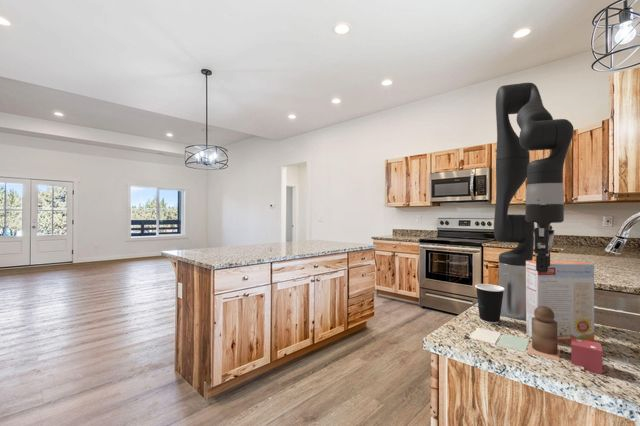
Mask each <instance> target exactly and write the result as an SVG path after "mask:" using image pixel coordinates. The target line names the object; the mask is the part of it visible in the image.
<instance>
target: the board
mask: <svg viewBox="0 0 640 426" xmlns="http://www.w3.org/2000/svg"><path fill="white" fill-rule="evenodd" d="M501 334H502V335H501ZM468 338H470V339H473V340H478V341H480V342H485V343H488V344H491V345H492V344H493V345H495V344H496V345H497V346H501V347H504V348H509V349H512V350H516V351H520V352H523V353H525V352H526V351H527V353H528V354H532V355H536V356H540V357H543V358H548V359H551V360H555V361H560V356H561V347H562V346H558V353H556V354H546V353H542V352H539V351H536V350H535V349H533V348H532V339H531V340H530V339H528V338H525V337H521V336H515V335H513V334H512V335H511V334H508V333H507V334H506V333H502V332H499V331H495V330H489V329H486V328H482V327H476V328H475V330H474V331H473V332H472V334H471V335H469V337H468ZM529 341H530V342H529ZM527 347H528V349H527Z"/></svg>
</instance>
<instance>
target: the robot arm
mask: <svg viewBox="0 0 640 426" xmlns="http://www.w3.org/2000/svg"><path fill="white" fill-rule="evenodd" d="M515 114H516V123H517V125H518V127H519V129H520V132H519V135H517V133H516V132H515V130H514V128H513V126H512V123H511V120H510V117H509V115H515ZM495 115H496V116H495V117H496V121H495V122H496V151H495V152H496V155H495V179H496V180H495V182H496V183H495V185H496V186H495V187H496V188H495V189H496V190H495V207H494V208H495V209H494V217H493V218H494V220H493V234H494V236H493V237H494V239H495V240H496V241H497V242H499V243H511V244H512V243H514V244H515V243H517V246H516V247H515V248H513V249H511V250H508V251H504V252H501V253H500V254H499V255H498V286H501V287H503V288H504V289H505V290H504V292H503V299H502V307H501V314H500V317H503V318H509V319H512V320H513V319H515V320H519V321H526V261H533V258H534V254H535V257H536V259H535V261H536V271H538V272H547V271H548V267H549V266H550V261H551V252H552V251H553V249H552V248H553V246H554V238H555V229H553V227H552V225H551V224H552V223H553V224H554V223H555V224H560V223H563V222H564V221H565V218H564V217H565V190H564V165H565V160H566V157H567V154H568V150H569V148H570V145H571V143H572V140H573V137H574V134H575V133H574V132H575V129H574V126H573V124H572V122H571V121H570V120H569V119H566V118H565V119H564V118H556V119H554V118H553V115H552V114H551V113H550V112H549V111H548V109H546V108H545V106H544V104H543V100H542V97H541V93H540V90H539V88H538V86H537V85H536V84H535V83H533V82H521V83H514V84H512V83H511V84H507V85H501V86H499V87H498V89H497V91H496V94H495ZM546 150H551V153H550V154H549V156H548V157H545V158H540V159H539V158H538V159H536V160H535V159H534V160H532V161H530V158H531V157H530V156H531V155H530V151H546ZM525 182H526V191H525V214H508V213H509V212H508V211H509V207H510V203H511V202H512V200H513V198H514V197H515V195H516V194H517V192H518V190H519V189H520V188H521V187H522V186H523V185H524V183H525ZM535 223H536V224H535ZM535 225H536V226H535Z"/></svg>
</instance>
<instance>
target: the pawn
mask: <svg viewBox="0 0 640 426" xmlns="http://www.w3.org/2000/svg"><path fill="white" fill-rule="evenodd" d="M534 315H535V317H533V318H532V336H531V340H532V348H533V349H535V350H536V351H539V352H542V353H546V354H556V353H558V344H559V343H558V341H557V322H556V321H554V317H555V316H554V312H553V311H552V310H551V309H550V308H548V307H546V306H539V307H537V308H536V309H535V311H534Z"/></svg>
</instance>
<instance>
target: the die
mask: <svg viewBox="0 0 640 426" xmlns="http://www.w3.org/2000/svg"><path fill="white" fill-rule="evenodd" d="M570 350H571V354H570V355H571V356H570V357H571V359H570V360H571V361H570V365H575V366H579V367H582V368H583V370H584V371H587V372H591V373H594V374H598V375H603V348H602V344H601V342H596V341H594V342H592V341H587V340H582V339H578V338H573V337H572V342H571V348H570Z"/></svg>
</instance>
